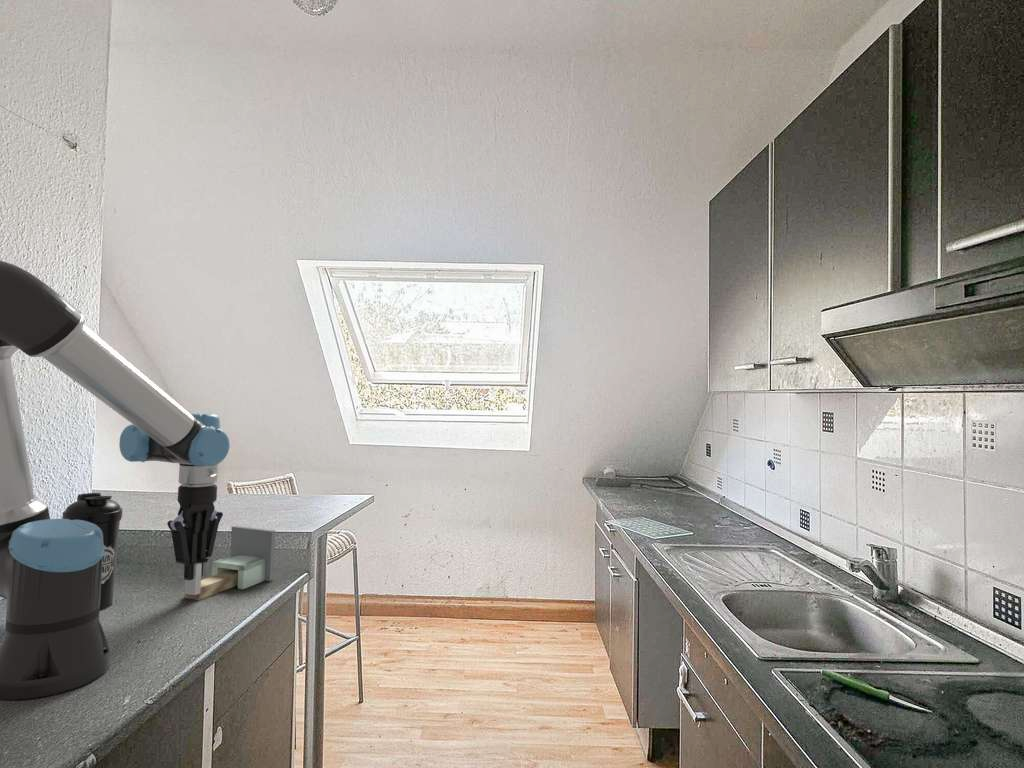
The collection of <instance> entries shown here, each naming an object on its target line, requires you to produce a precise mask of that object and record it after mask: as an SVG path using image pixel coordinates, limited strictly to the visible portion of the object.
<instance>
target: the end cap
mask: <svg viewBox="0 0 1024 768" xmlns="http://www.w3.org/2000/svg"><path fill="white" fill-rule="evenodd" d="M230 531H231V533H230V534H231V535H230V552H229V553H230V555H228V556H225V557H223V558H219V559H217V560H216V559H215V560H213V561H212V566H211V567H212V568H211V577H212V576H215V575H218V574H220V573H223V572H226V571H229V570H232V569H233V570H238V585H237V589H239V590H244V589H247V588H249V587H253V586H254V585H257V584H260V583H262V582H272V581H273V580H274V571H275V567H274V566H275V546H276V544H275V543H276V530H274V529H267V528H266V529H265V528H258V527H257V528H256V527H250V526H249V527H248V526H247V527H246V526H239V525H233V526H231V530H230Z"/></svg>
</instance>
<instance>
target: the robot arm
mask: <svg viewBox="0 0 1024 768" xmlns="http://www.w3.org/2000/svg"><path fill="white" fill-rule="evenodd" d="M18 350H20V351H22V352H23V353H24V354H26V355H27V356H28V357H31V358H39V357H40V358H43V359H44V360H46V361H47V362H49V363H50V364H51V365H53V366H54V367H55V368H56V369H58V370H59V371H60V372H62V373H63V374H64V375H65V376H67V377H68V378H69V379H71V380H73V381H74V382H75V383H77V385H79V386H81V387H82V388H83V389H85V390H86V391H88V393H90V394H91V395H93V396H94V397H96V398H97V399H98V400H100V401H101V402H102V403H103V404H105V405H106V406H107V407H109V408H111V409H112V410H113V411H115V412H116V413H118V414H119V415H120V416H121V417H122V418H124V419H125V420H127V421H128V422H129V423H131V424H128V425H127V426H126V427H124V429H123V430H122V432H121V434H120V437H119V443H118V445H119V451H120V454H121V456H122V457H123V458H124V460H126V461H128V462H129V463H130V462H131V463H132V462H133V463H134V462H135V463H137V462H141V463H145V462H164V463H171V464H179V467H178V469H179V470H178V484H180V485H179V486H178V487H177V488H178V489H177V503H178V504H179V509H178V511H177V517H176V518H174V519H173V520H170V519H169V520H168V521H167V526H168V528H169V531H170V532H171V536H172V540H171V541H172V543H173V544H172V546H173V550H174V551H173V552H174V557H175V558H174V559H175V562H176V563H177V564H183V566H184V567H183V579H184V581H185V584H184V585H185V586H184V595H185V594H190V595H197V594H200V590H201V580H202V577H203V575H204V564H205V563H207V562H209V558H211V557H212V555H213V551H214V547H215V541H216V538H217V533H218V529H219V525H220V522H221V519H222V517H223V515H224V513H223V512H222V511H217V510H216V509H215V504H214V503H215V502H217V498H218V497H217V495H218V486H217V484H216V483H217V482H218V473H219V472H218V471H219V470H218V469H219V464H221V463H222V462H223V461H224V460H225V458H226V457H227V456H228V453H229V450H230V438H229V436H228V434H227V433H226V432H225V431H224V430H222V429H221V420H220V417H219V416H218V415H217V414H215V413H199V412H198V413H190V412H189V411H188V410H187V409H185V408H184V407H183V406H182V405H181V404H179V403H178V402H177V401H176V400H175V399H173V397H171V396H170V395H168V393H166V392H165V391H164V390H163V389H162V388H160V387H159V386H158V385H157V384H156V383H155V382H154V381H152V380H150V379H149V377H148V376H146V375H145V374H143V372H142V371H141V370H139V369H138V368H136V367H135V366H134V365H133V364H132V363H131V362H129V361H128V360H127V359H126V358H125V357H124V356H122V354H120V353H119V352H118V351H116V349H114V348H113V347H112V346H111V345H109V343H107V342H106V341H104V340H103V338H101V337H100V336H99V335H97V334H96V333H95V332H94V331H93V330H91V328H90V327H88V326H87V325H86V324H85V323H84V314H83V313H82V312H81V311H79V310H78V309H77V308H76V307H75V306H73V305H72V304H71V303H70V302H69V301H68V300H67V299H66V298H64V297H63V296H61V294H59V293H58V292H57V291H55V290H54V289H53V288H52V287H50V285H48V284H46V283H45V282H44V281H42V279H40V278H38V277H37V276H35V275H34V274H32V273H30V271H28V270H26V269H24V268H21V267H19V266H17V265H16V264H13V263H10V262H7V261H2V260H0V598H3V599H5V600H6V611H5V612H6V613H5V629H4V635H3V638H2V640H1V642H0V699H1V700H28V699H35V698H43V697H47V696H53V695H56V694H61V693H64V692H67V691H71V690H74V689H77V688H79V687H82V686H84V685H86V684H89V683H91V682H93V681H95V680H97V679H98V678H100V677H102V675H104V674H105V673H106V672H107V671H108V670H109V668H110V666H111V665H110V664H111V663H110V661H111V650H110V647H109V645H108V641H107V637H106V636H105V632H104V629H103V627H102V622H101V621H100V611H101V610H100V595H101V578H102V562H103V555H104V544H103V533H102V531H101V529H100V528H99V527H98V526H97V525H95V524H93V523H90V522H87V521H83V520H69V519H62V518H50V511H49V506H48V503H47V502H44V501H43V500H40V499H38V498H37V497H36V496H35V493H34V486H33V481H32V475H31V470H30V464H29V457H28V452H27V446H26V440H25V435H24V430H23V429H24V427H23V423H22V418H21V415H22V414H21V412H20V411H21V409H20V404H19V400H18V399H19V398H18V392H17V388H16V382H15V381H16V380H15V377H14V376H15V375H14V369H13V364H12V363H13V362H12V356H13V355H14V354H16V352H17V351H18Z"/></svg>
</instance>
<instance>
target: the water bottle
mask: <svg viewBox="0 0 1024 768" xmlns="http://www.w3.org/2000/svg"><path fill="white" fill-rule="evenodd" d="M76 498H77V500H76V501H75V502H73V503H70V505H68V506H67V507H66V509H65V510H64V511H63V512H62V514H61V515H62V518H61V519H69V520H83V521H87V522H90V523H93V524H95V525H97V526H98V527H99V528H100V529H101V531H102V533H103V544H104V555H103V562H102V578H101V595H100V611H102V610H105V609H107V608H109V607H111V606H112V605H113V602H114V601H113V600H114V590H115V580H116V579H115V578H116V568H117V555H118V545H119V536H120V535H119V534H120V524H121V523H120V522H121V521H122V517H123V508H122V507H121V506H120V504H119V503H118V502H116V501H115V500H113V499H112V498H113V496H112V495H102V494H101V492H90V493H88V492H87V493H80V494H79V493H78V495H77V497H76Z"/></svg>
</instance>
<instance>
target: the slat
mask: <svg viewBox="0 0 1024 768" xmlns="http://www.w3.org/2000/svg"><path fill="white" fill-rule="evenodd" d="M236 586H237V587H238V570H233V569H232V570H229V571H226V572H223V573H220V574H218V575H215V576H212V575H211V576H210V577H206V578H204V579H201V590H200V594H197V595H190V594H185V593H184V599H191V600H197V601H200V600H203V599H206V598H208V597H210V596H213V595H215V594H219V593H221V592H223V591H226V590H228V589H229V590H230V589H231V588H234V587H236Z"/></svg>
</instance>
